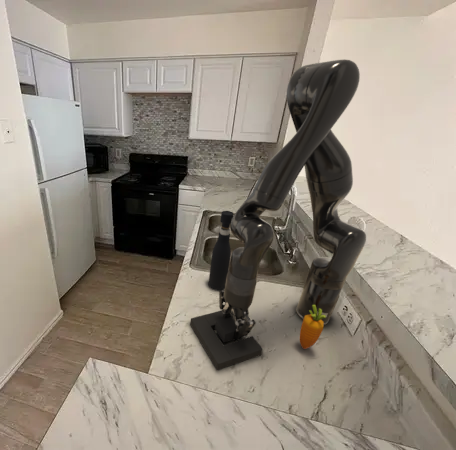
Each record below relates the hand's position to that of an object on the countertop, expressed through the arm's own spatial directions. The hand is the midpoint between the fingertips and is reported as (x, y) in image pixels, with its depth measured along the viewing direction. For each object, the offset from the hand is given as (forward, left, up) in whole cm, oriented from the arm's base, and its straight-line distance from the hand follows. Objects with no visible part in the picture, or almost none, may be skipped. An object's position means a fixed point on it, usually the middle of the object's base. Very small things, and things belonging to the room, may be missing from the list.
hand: (231, 331), depth 75 cm
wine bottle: (-9, -22, -2) cm, 24 cm away
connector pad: (0, 0, 0) cm, 0 cm away
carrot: (-18, +10, -2) cm, 20 cm away
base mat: (+2, 0, -2) cm, 3 cm away
